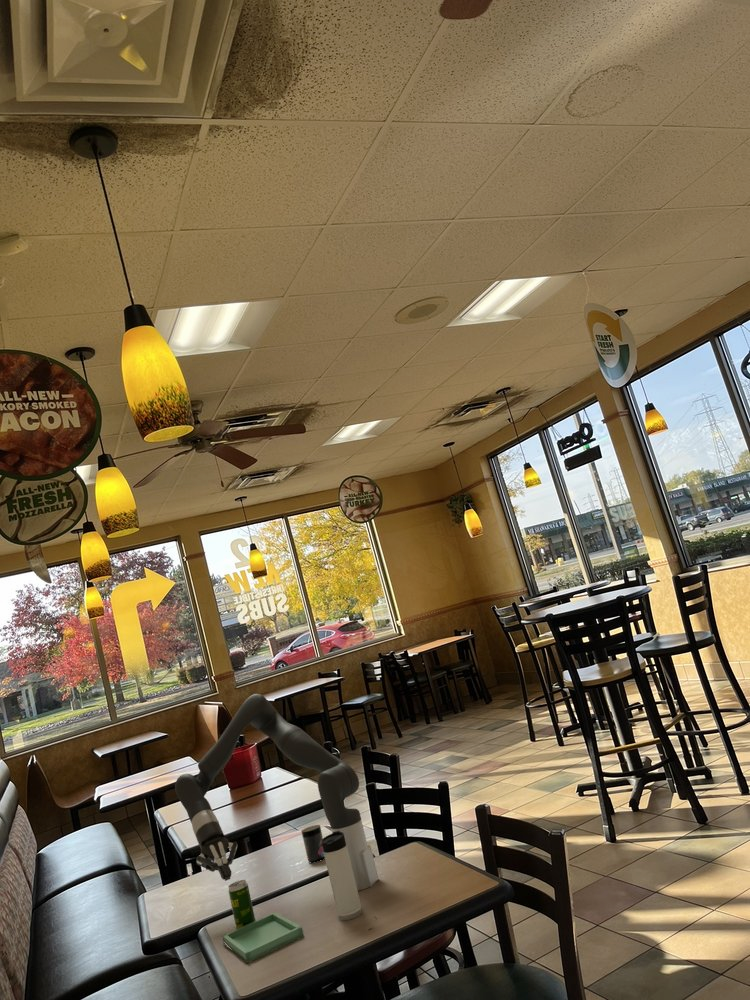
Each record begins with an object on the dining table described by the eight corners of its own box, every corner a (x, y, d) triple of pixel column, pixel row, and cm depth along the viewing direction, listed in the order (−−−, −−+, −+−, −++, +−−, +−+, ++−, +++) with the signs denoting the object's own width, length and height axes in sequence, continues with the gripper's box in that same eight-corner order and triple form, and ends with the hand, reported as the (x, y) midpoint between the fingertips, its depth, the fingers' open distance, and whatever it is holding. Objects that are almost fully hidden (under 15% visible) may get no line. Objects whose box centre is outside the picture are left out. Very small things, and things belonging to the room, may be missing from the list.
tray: (224, 944, 191) (222, 935, 192) (276, 920, 199) (274, 912, 199) (247, 963, 174) (245, 953, 175) (303, 936, 182) (301, 926, 182)
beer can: (248, 924, 202) (238, 879, 204) (260, 925, 198) (250, 879, 201) (233, 934, 197) (223, 887, 200) (245, 934, 194) (235, 887, 196)
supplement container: (318, 863, 244) (310, 831, 246) (304, 864, 248) (297, 832, 250) (331, 855, 249) (324, 824, 251) (317, 856, 253) (310, 825, 255)
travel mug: (366, 907, 190) (347, 828, 194) (357, 919, 184) (338, 837, 188) (345, 911, 192) (326, 832, 196) (335, 922, 186) (316, 841, 189)
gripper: (227, 829, 225) (248, 877, 213) (185, 845, 218) (205, 895, 206) (228, 813, 222) (250, 861, 209) (186, 829, 215) (205, 879, 202)
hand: (227, 878), depth 208 cm, fingers closed
